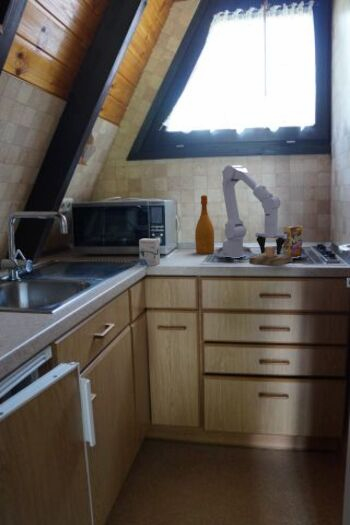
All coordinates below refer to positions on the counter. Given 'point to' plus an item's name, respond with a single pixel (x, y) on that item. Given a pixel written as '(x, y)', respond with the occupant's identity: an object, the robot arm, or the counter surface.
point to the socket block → (270, 259)
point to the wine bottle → (204, 231)
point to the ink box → (149, 251)
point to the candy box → (293, 241)
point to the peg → (270, 252)
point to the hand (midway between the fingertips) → (270, 253)
